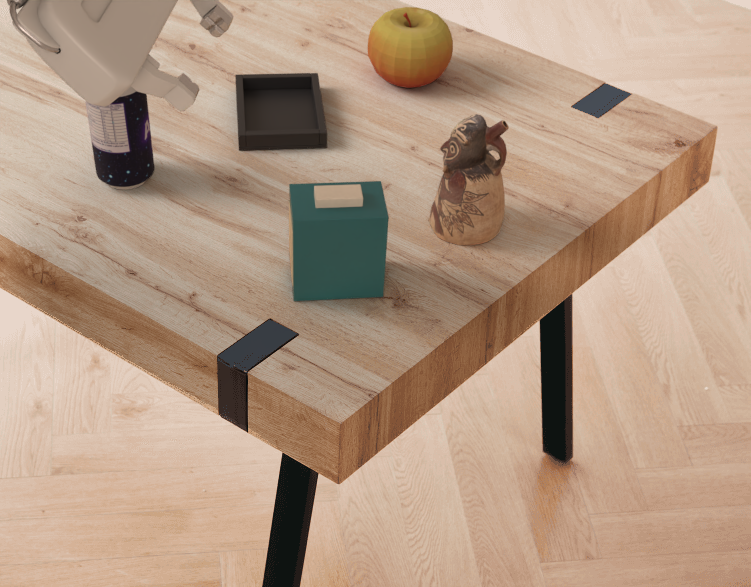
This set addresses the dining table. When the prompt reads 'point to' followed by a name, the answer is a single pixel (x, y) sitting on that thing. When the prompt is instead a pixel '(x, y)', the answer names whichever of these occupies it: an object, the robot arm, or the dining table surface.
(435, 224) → the figurine
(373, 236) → the tissue box
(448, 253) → the dining table surface
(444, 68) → the apple
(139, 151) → the beverage can
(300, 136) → the tray
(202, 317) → the dining table surface
